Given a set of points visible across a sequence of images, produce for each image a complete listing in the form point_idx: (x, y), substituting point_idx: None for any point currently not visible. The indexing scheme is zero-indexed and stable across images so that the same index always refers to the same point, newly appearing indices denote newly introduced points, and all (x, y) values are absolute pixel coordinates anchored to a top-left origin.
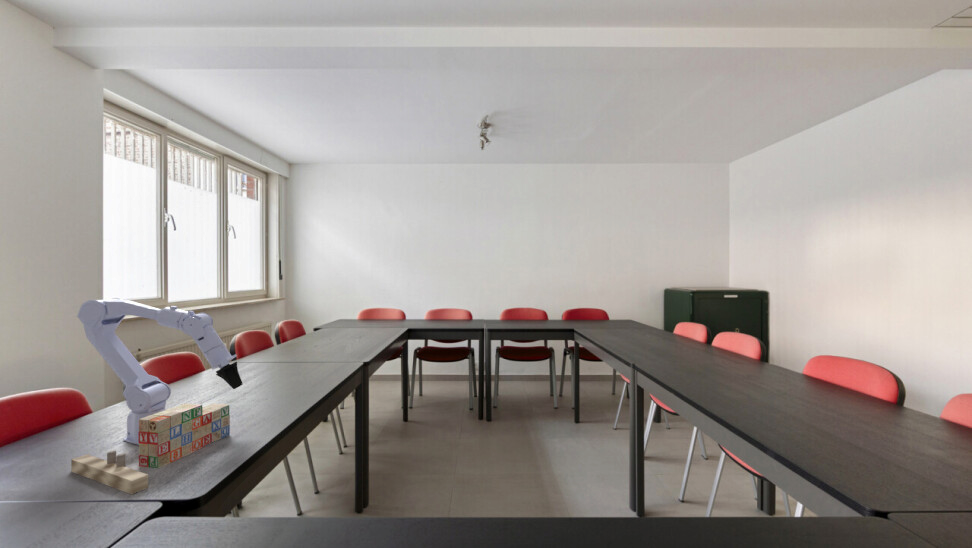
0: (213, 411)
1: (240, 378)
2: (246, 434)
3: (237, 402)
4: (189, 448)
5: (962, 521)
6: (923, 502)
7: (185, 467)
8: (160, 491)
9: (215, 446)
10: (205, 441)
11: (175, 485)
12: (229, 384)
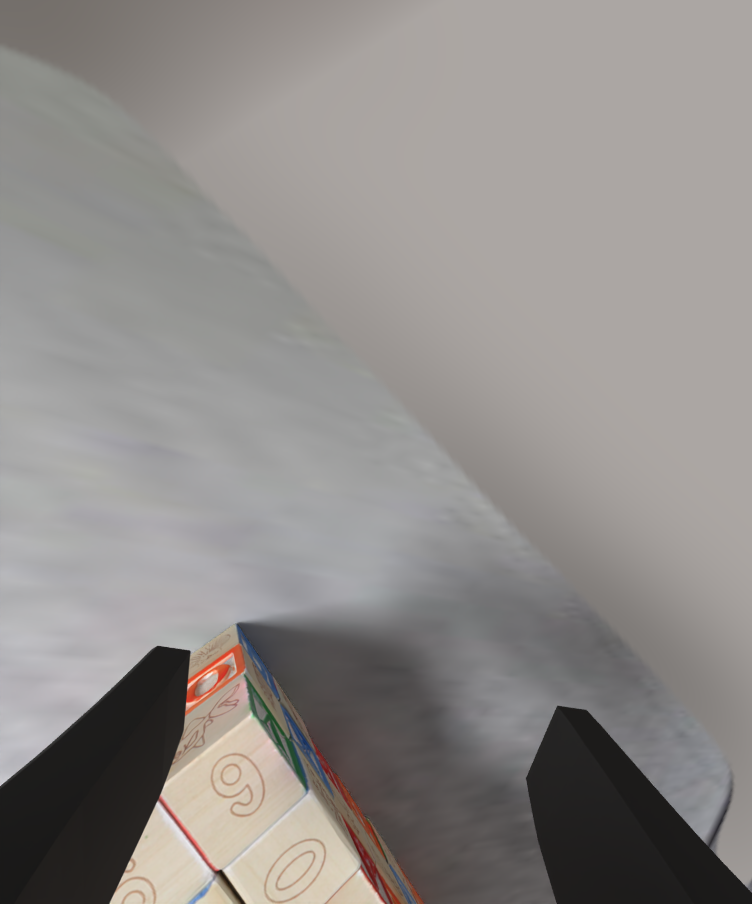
0: (353, 851)
1: (664, 800)
2: (307, 540)
3: None
4: (386, 850)
5: None
6: None
7: (516, 829)
8: None
9: (367, 706)
10: (328, 770)
11: None
12: (126, 864)
